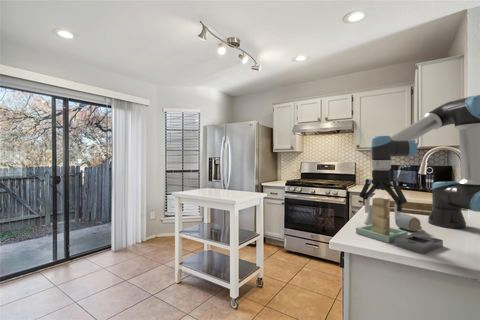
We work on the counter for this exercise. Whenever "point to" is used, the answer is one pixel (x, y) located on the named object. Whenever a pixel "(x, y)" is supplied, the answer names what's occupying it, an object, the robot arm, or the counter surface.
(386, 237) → the green tray
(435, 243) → the gray slotted block
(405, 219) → the grey cylinder
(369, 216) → the flask
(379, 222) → the wooden peg
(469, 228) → the counter surface
